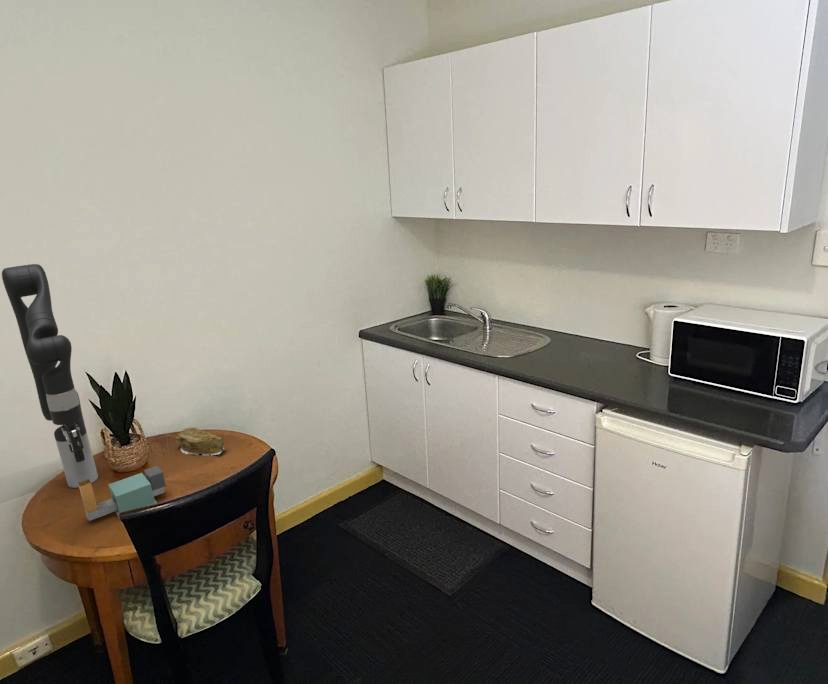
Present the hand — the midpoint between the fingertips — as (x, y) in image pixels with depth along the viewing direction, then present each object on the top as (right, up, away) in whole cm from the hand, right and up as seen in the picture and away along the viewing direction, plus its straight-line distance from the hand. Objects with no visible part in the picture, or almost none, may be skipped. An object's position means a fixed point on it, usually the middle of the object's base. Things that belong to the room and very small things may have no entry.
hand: (77, 456), depth 170 cm
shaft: (+9, -17, +12) cm, 22 cm away
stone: (+19, -7, +47) cm, 52 cm away
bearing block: (+10, -18, +13) cm, 25 cm away
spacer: (+16, -12, +16) cm, 26 cm away
